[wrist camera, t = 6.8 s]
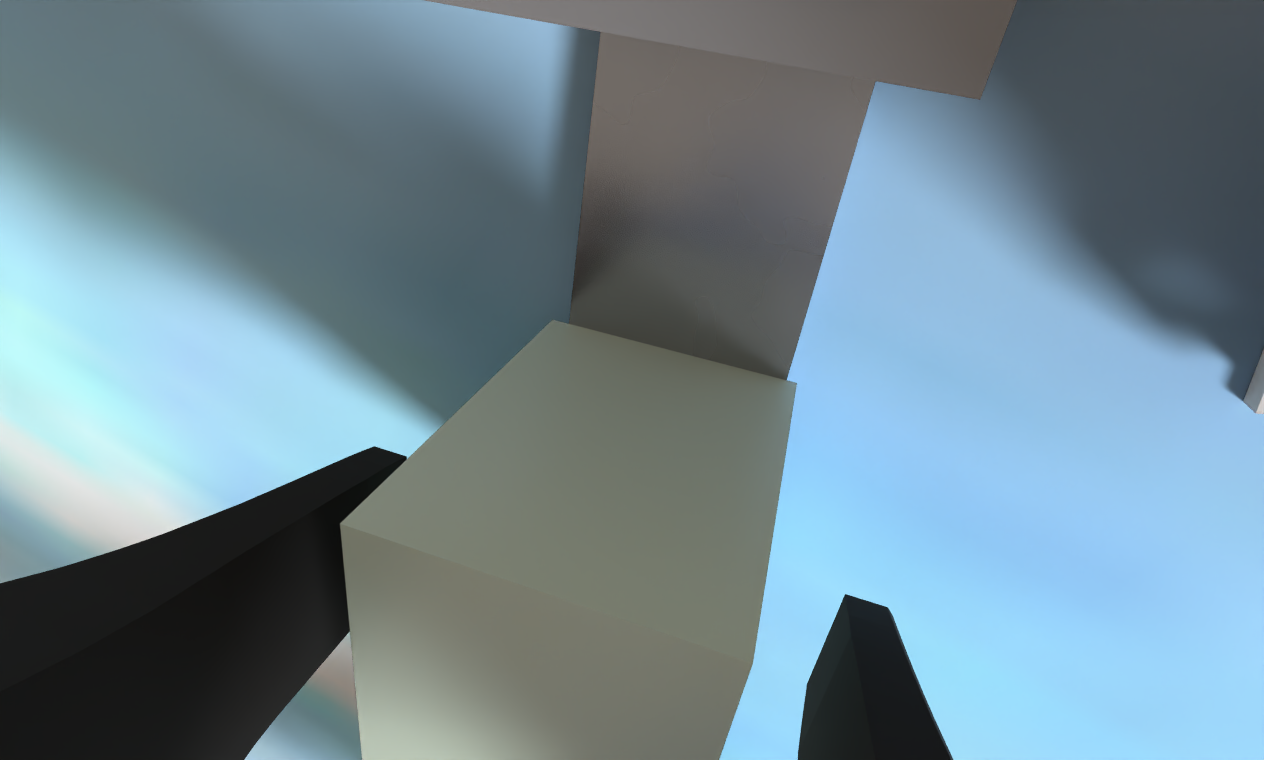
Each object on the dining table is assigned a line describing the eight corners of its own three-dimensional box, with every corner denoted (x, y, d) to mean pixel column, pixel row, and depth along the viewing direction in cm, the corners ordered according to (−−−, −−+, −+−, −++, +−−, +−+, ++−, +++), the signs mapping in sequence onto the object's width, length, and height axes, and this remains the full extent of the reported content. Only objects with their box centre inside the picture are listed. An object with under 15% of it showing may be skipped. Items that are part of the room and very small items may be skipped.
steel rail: (659, 803, 19) (651, 831, 19) (530, 753, 20) (519, 778, 19) (1004, -366, 8) (1019, -405, 7) (665, -388, 8) (650, -423, 8)
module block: (734, 590, 14) (666, 912, 9) (529, 524, 15) (358, 784, 10) (797, 382, 12) (752, 663, 6) (547, 317, 12) (330, 520, 7)
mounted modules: (674, 820, 18) (617, 1075, 14) (505, 754, 19) (399, 973, 15) (1033, -284, 7) (1315, -773, 3) (599, -320, 8) (298, -738, 4)
